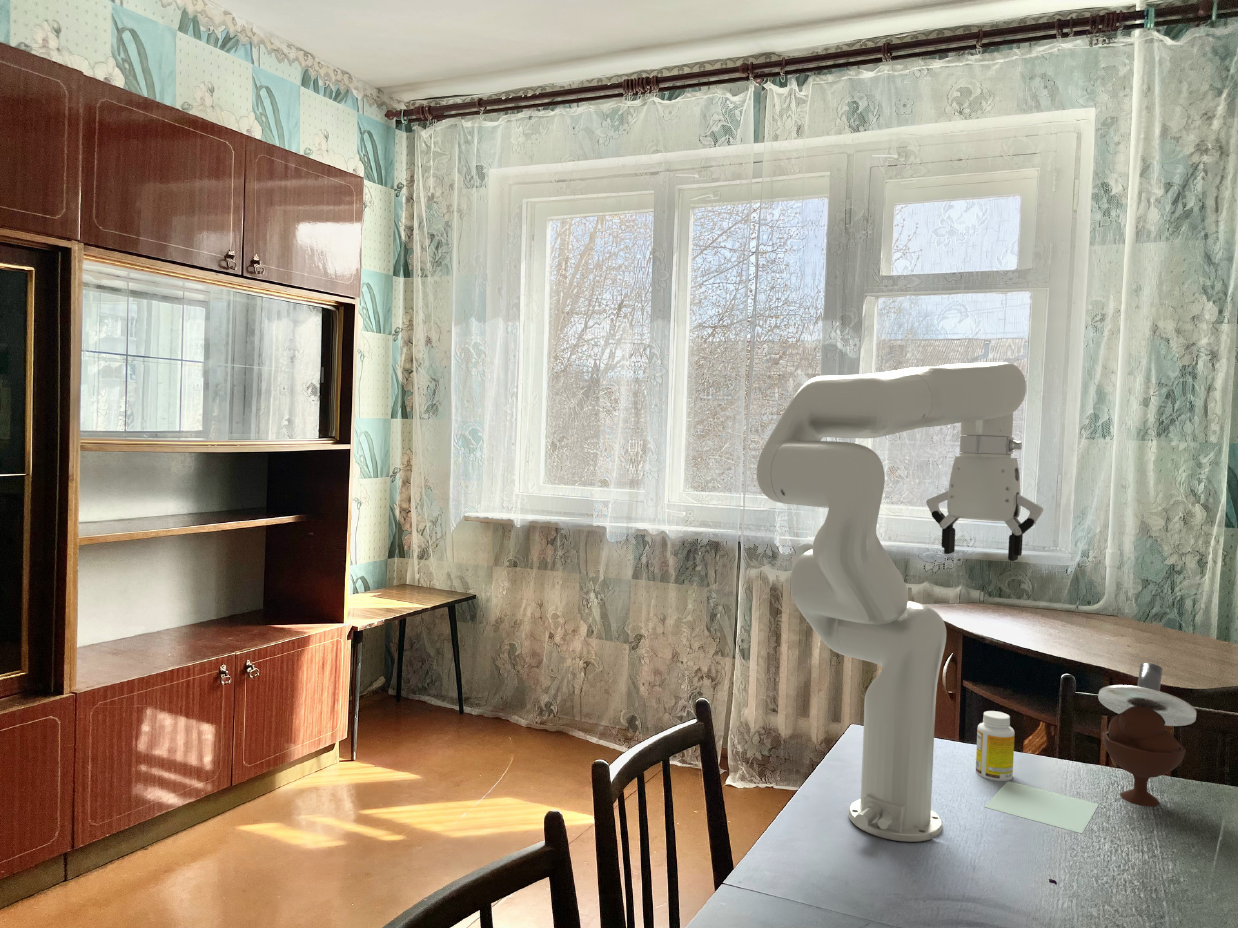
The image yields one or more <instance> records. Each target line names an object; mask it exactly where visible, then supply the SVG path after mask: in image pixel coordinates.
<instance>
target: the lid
mask: <svg viewBox="0 0 1238 928" xmlns="http://www.w3.org/2000/svg"><path fill="white" fill-rule="evenodd" d="M1162 677H1163V668H1162V666H1160V665H1157V664H1155V663H1149V662H1148V663H1147V662H1143V663H1140V666H1139V673H1138V679H1137V685H1129V684H1128V685H1127V684H1124V685H1123V684H1114V685H1107V686H1103V687H1102V688H1100V689H1099V691H1098V697H1097V698H1098V701H1099V702H1100V704H1102V706H1104V707H1105V708H1107V709H1108V710H1109V711H1113V712H1114V713H1117V715H1118V714H1120V713H1122V712H1124V711H1125V710H1126V709H1128V708H1130V707H1132V706H1146V707H1148V708H1151V709H1153V710H1154V711H1156V712H1157V713H1158V714H1160V715H1161V716H1162V717H1163V719H1164V720H1165V724H1164V725H1165V727H1166V726H1167V727H1181V726H1188V725H1189V726H1190V725H1192V724H1193V723H1195V722H1196V719H1197V710H1196V708H1194V706H1193V705H1191V704H1190V703H1189V702H1187V701H1186V700H1183V699H1182V698H1179V697H1177V696H1175V695H1173V694H1169V693H1167V692H1164V691H1161V682H1162Z"/></svg>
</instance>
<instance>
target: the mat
mask: <svg viewBox="0 0 1238 928" xmlns="http://www.w3.org/2000/svg"><path fill="white" fill-rule="evenodd" d="M1099 806H1100V804H1099V803H1097V802H1092V801H1089V800H1085V799H1081V798H1077V797H1072V796H1070V795H1069V796H1068V795H1065V794H1062V793H1057V792H1053V791H1049V790H1045V789H1041V788H1037V787H1033V786H1029V785H1025V784H1021V783H1017V782H1013V781H1010V780H1008V781H1005V783H1004V785H1003V786H1001V788H1000V789H999V790H998V791H997V792H996V793H995V795H993V796H992V797H991V799H990V800H989V801H988V802H987V803H986V804H985V805H984V808H985V809H990V810H992V811H997V812H1000V813H1003V814H1008V815H1012V816H1015V817H1020V818H1023V819H1025V820H1030V821H1034V822H1036V823H1041V824H1044V825H1048V826H1051V827H1055V828H1059V829H1061V830H1062V829H1063V830H1065V831H1066V830H1067V831H1070V832H1074V833H1077V834H1081V835H1082V834H1083V833H1084V832H1085V829H1086V828H1087V826H1088V824H1089V823H1090V821H1091V820H1092V817H1093V816H1094V813H1095V812H1096V810H1097V809H1098V807H1099Z"/></svg>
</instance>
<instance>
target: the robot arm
mask: <svg viewBox="0 0 1238 928" xmlns="http://www.w3.org/2000/svg"><path fill="white" fill-rule="evenodd" d="M1023 373H1024V372H1022V369H1020V368H1019V367H1018V366H1017V365H1015V364H1014V363H1011V362H1005V361H1004V362H999V361H998V362H974V363H973V362H971V363H952V364H942V365H939V366H920V367H919V366H917V367H916V366H915V367H907V368H901V369H900V368H899V369H897V370H890V371H882V372H881V371H880V372H873V373H863V374H847V375H844V374H843V375H838V374H837V375H820V376H815V377H812V378H811V379H809V380H808V381H806V382H805V383H804V384H803V385H802V386H801V387H800V388H799V389H798V391H796V393H795V395H793V397H792V399H791V400H790V402H789V404H788V405H787V406H786V408H785V409H784V411H783V413H782V415H781V416H780V418H779V419H778V421H777V423H776V425H775V427H774V429H773V430H772V431H771V433H770V435H769V437H768V438H767V440H766V442H765V444H764V446H763V447H762V450H761V453H760V454H759V457H758V461H757V464H756V465H757V466H756V479H757V484H758V487H759V489H760V491H761V492H762V494H764V496H766V497H767V498H768V499H769V500H772V501H773V502H777V503H780V504H784V505H794V506H795V505H796V506H802V507H803V506H804V507H812V508H813V507H814V508H815V507H816V508H822V509H824V508H825V509H826V508H827V514H826V517H825V520H824V522H823V524H822V525H821V527H820V528H819V529H818V531H817V533H816V535H815V537H814V538H813V539H814V540H813V542H812V548H810V549H809V550H806V551H805V552H803V553H802V554H801V555H800V556H798V557H797V559H796V560H795V563H794V564H793V566H792V569H791V573H790V591H791V597H792V599H793V601H794V604H795V606H796V609H798V611H799V612H800V613H801V615H802V616H803V618H804V619H805V620H806V621H807V623H808V624H809V625H810V627H811V628H812V630H814V632H815V633H816V634H817V635H818V637H819V638H820V640H822V642H823V643H824V644H825V645H826V646H827V647H828V648H829V649H830V650H832V651H833V652H835V653H837V654H840V655H842V656H845V657H849V658H853V659H857V660H862V661H866V662H870V663H873V664H876V665H880V667H881V670H880V672H879V674H877V676H876V677H875V678H874V680H873V681H871V683H870V684H869V686H868V688H867V689H866V692H865V696H864V706H863V710H864V713H863V735H862V736H863V737H862V762H861V763H862V764H861V784H860V785H861V787H860V788H861V789H860V798H858V799H857V800H855V801H853V802H851V804H850V805H849V808H848V818H849V819H850V821H851V822H852V823H853V824H854V825H855V826H856V827H858V828H859V829H860V830H862V831H864V832H866V833H867V834H869V835H873V836H875V837H879V838H883V839H886V840H892V841H897V842H906V843H907V842H911V843H912V842H913V843H914V842H924V841H929V840H933V839H934V838H936V837H938V836H939V835H940V834H941V833H942V830H943V820H942V818H941V817H940V816H939V814H938V813H936V812H935V811H934V810H932V791H933V790H932V788H933V769H934V750H935V749H934V745H935V744H934V742H935V724H936V723H935V722H936V721H935V720H936V705H937V704H936V703H937V690H938V689H937V688H938V681H939V675H940V670H941V665H942V660H943V656H944V653H945V648H946V645H947V644H946V643H947V627H946V624H945V621H944V619H943V618H942V616H941V615H940V614H939V613H938V612H937V611H936V610H934V609H933V608H931V607H929V606H927V605H925V604H922V603H920V602H915V601H912V600H909V592H908V591H909V590H908V587H907V585H906V583H905V579H904V578H903V576H902V575H901V573H900V571H899V569H898V568H897V566H896V565H895V563H894V562H893V560H892V558H891V557H890V555H889V553H888V552H887V551H886V550H885V548H884V546H883V545H882V543H881V540H880V538H879V537H878V535H877V525H878V519H879V514H880V510H881V509H880V508H881V504H882V500H883V499H882V498H883V494H884V489H885V482H886V480H885V479H886V476H885V475H886V474H885V470H884V465H883V462H882V460H881V458H880V457H879V455H878V454H877V452H875V450H873V449H872V448H870V447H868V446H866V445H864V444H863V445H862V444H860V443H859V444H858V443H854V442H848V441H835V440H834V441H831V440H822V439H823V438H835V439H837V438H838V439H863V440H865V439H875V438H876V439H878V438H881V437H882V438H883V437H886V436H892V435H895V434H900V433H903V432H907V431H912V430H917V429H923V428H934V427H941V426H942V427H943V426H947V425H948V426H949V425H953V424H960V431H959V432H960V433H959V434H960V436H959V455H955V456H954V460H953V463H952V466H951V472H950V477H949V484H948V490H946V491H944V492H942V493H940V494H937V495H935V496H933V497H931V498H928V499H927V500H926V502H925V503H926V506H927V508H928V509H929V512H930V515H931V517H932V519H933V520H934V521H935V522H936V523H937V524H938V525H939V528H941V548H942V549H943V553H944V554H945V555H950V554H953V553H955V551H956V550H955V548H956V547H955V546H956V528H955V527H954V524H956V522H957V521H958V520H959V519H965V520H975V521H986V522H987V521H988V522H989V521H990V522H1004V523H1005V524H1006V526H1007V527H1008V528H1009V530H1010V531H1011V534H1010V535H1008V536H1009V537H1008V549H1007V550H1008V552H1007V560H1008V561H1010V562H1015V561H1017V560H1018V559H1019V557H1020V556H1022V554H1023V536H1024V535H1025V533H1027V531H1028V530H1029V529H1031V528H1032V527H1034V526H1035V525H1036V523H1037V521H1038V520H1039V518H1040V517H1041V515H1042V513H1043V512H1044V508H1043V507H1042V506H1041V505H1039V504H1038V503H1036V502H1033V501H1032V500H1030V499H1028V498H1027V497H1024V496H1023V495H1022V494H1021V479H1020V468H1019V462H1018V461H1019V460H1018V457H1012V455H1013V453H1014V452H1016V451H1022V447H1023V442H1022V441H1019V440H1018V441H1017V440H1015V439H1014V437H1013V429H1014V428H1013V425H1014V424H1013V423H1014V412H1016V410H1018V409H1019V408H1020V406H1021V405H1022V403H1023V402H1024V400H1025V396H1026V394H1027V393H1026V392H1027V383H1026V377H1025V375H1024V374H1023ZM943 502H946V510H947V515H945V514H944V513H943V512H942V511H941V510H940V506H939V505H940V504H942V503H943ZM1021 507H1023V508H1024V509H1026V510H1027V511H1029V515H1028V516H1027V518H1026V519H1024V521H1023V522H1021V521H1020V520H1019V519H1018V518H1019V517H1020V515H1021Z"/></svg>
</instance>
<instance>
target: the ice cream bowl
mask: <svg viewBox="0 0 1238 928" xmlns="http://www.w3.org/2000/svg"><path fill="white" fill-rule="evenodd" d="M1164 724H1165V720H1164V719H1163V717H1162V716H1161V715H1160V714H1158V713H1157V712H1156V711H1154V710H1153V709H1151V708H1148V707H1146V706H1132V707H1130V708H1128V709H1126V710H1125V711H1124V712H1122V713H1120V714H1118V713H1117V714H1116V715H1115V716H1114V717H1113V718H1112V719H1111V720H1110V721H1109V724H1108V727H1107V730H1105V731H1102V732H1101V735H1102V742H1103V745H1104V747H1105V749H1106V751H1107V753H1108V755H1109V756H1110V758H1111V759H1112V761H1114V762H1115V764H1116V765H1117V766H1118V767H1120V769H1123V770H1124V771H1125V772H1128V773H1129V774H1132V777H1133V778H1134V779H1133V780H1134V782H1133V788H1132V789H1128V790H1126V791H1123V792H1120V794H1119V796H1120V797H1121V799H1122V800H1124V801H1126V802H1128V803H1130V804H1133V805H1138V806H1142V807H1152V808H1153V807H1157V806H1159V805H1161V803H1160V800H1159V799H1158V798H1157V797H1155V795H1153V794H1151V793H1150V792H1149V791H1148V782H1149V780H1150V779H1151V778H1158V777H1160V776H1163V775H1166V774H1168V773H1170V772H1171V771H1173V770H1174V769H1176V768H1177V767H1179V766H1180V764H1181V763H1182V761H1183V760H1184V758H1185V755H1186V751H1187V749H1186V747H1185V746H1184V745H1183V744H1182V743H1181V742H1180V741H1178V740H1177V739H1176V738H1175V736H1174V735H1172V734H1171V733H1170V732H1168V731H1167V730H1166V725H1164Z"/></svg>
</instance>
